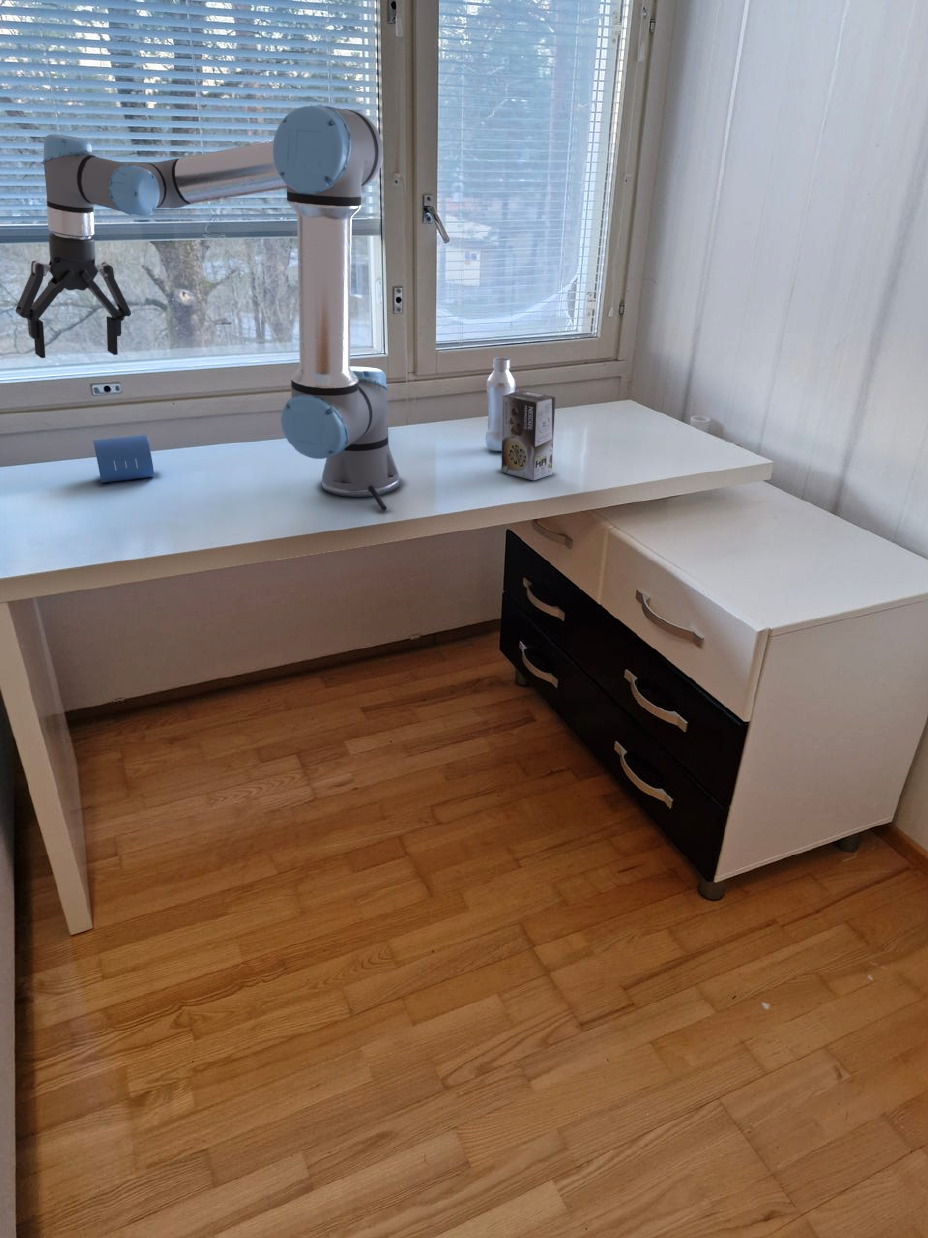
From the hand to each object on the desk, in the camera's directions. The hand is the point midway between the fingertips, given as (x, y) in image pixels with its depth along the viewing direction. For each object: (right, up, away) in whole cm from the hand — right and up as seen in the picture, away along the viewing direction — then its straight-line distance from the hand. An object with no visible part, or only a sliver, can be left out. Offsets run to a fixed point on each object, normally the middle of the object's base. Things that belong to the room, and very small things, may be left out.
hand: (77, 354), depth 165 cm
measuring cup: (+5, -22, +12) cm, 25 cm away
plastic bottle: (+81, -12, +31) cm, 88 cm away
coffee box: (+86, -20, +16) cm, 90 cm away
